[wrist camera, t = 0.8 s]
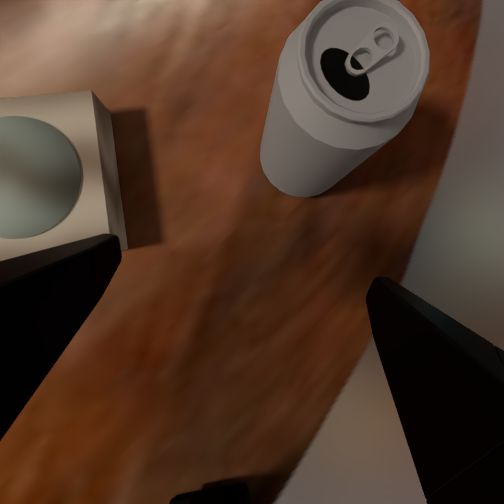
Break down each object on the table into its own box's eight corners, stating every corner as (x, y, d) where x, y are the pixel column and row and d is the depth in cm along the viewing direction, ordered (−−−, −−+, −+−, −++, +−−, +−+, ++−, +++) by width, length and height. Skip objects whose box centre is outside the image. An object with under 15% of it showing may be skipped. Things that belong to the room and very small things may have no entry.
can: (241, 153, 23) (248, 34, 11) (303, 103, 24) (373, -63, 12) (296, 217, 23) (361, 166, 11) (356, 165, 24) (480, 64, 12)
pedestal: (128, 249, 22) (109, 247, 19) (-22, 270, 21) (-68, 271, 18) (110, 113, 22) (89, 88, 19) (-37, 127, 22) (-85, 104, 18)
